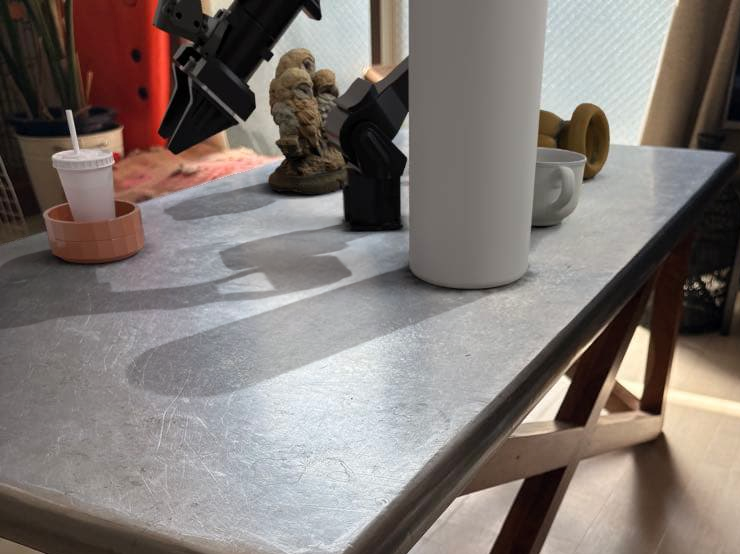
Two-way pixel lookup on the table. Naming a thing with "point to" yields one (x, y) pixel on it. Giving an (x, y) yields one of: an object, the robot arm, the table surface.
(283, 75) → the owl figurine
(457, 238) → the cylinder vase
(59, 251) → the bowl
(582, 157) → the teacup
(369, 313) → the table surface
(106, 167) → the smoothie
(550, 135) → the brown looped sculpture
